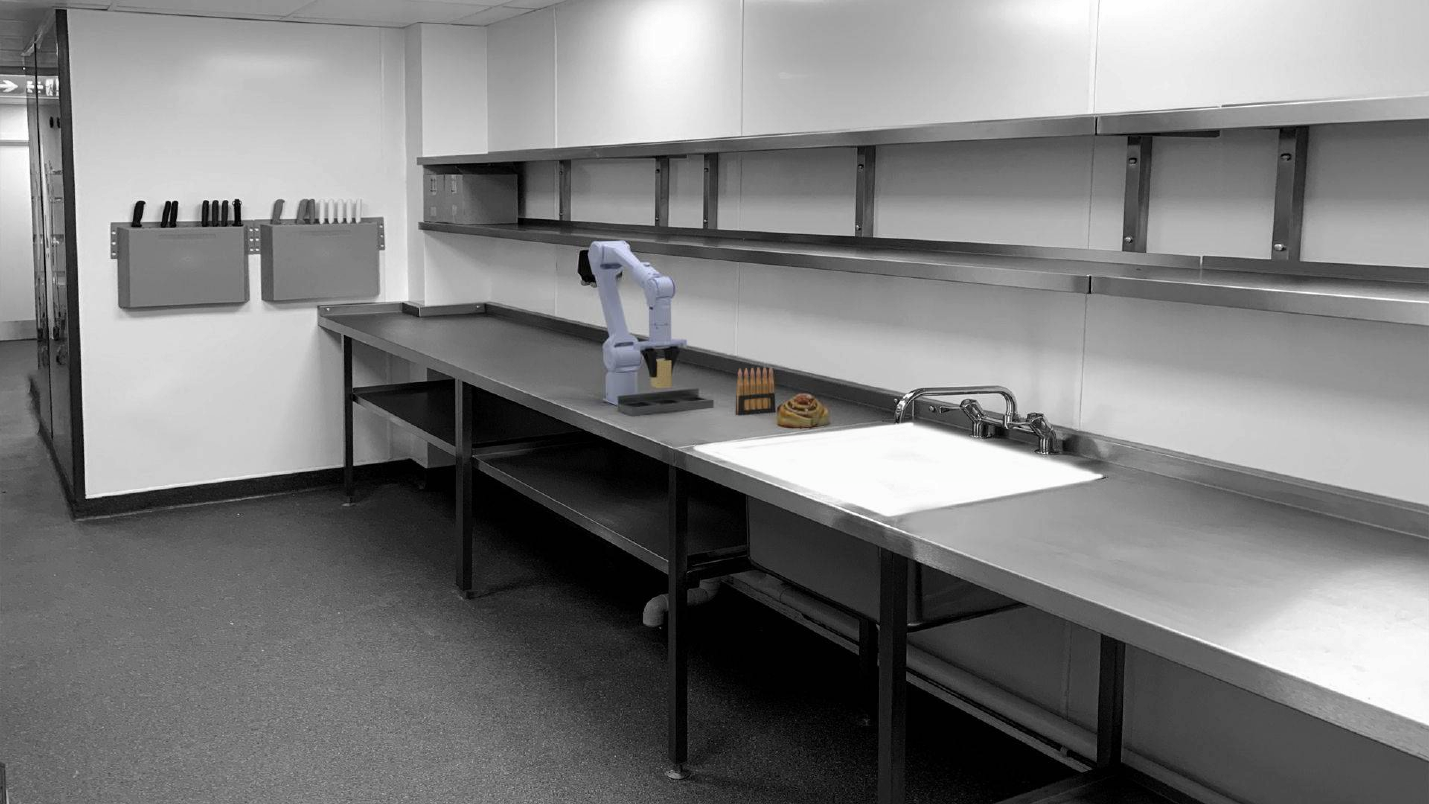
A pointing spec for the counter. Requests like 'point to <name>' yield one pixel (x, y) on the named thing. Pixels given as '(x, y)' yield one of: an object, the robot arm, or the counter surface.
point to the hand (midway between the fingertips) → (660, 376)
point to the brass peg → (662, 374)
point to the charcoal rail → (663, 402)
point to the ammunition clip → (755, 393)
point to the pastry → (802, 412)
